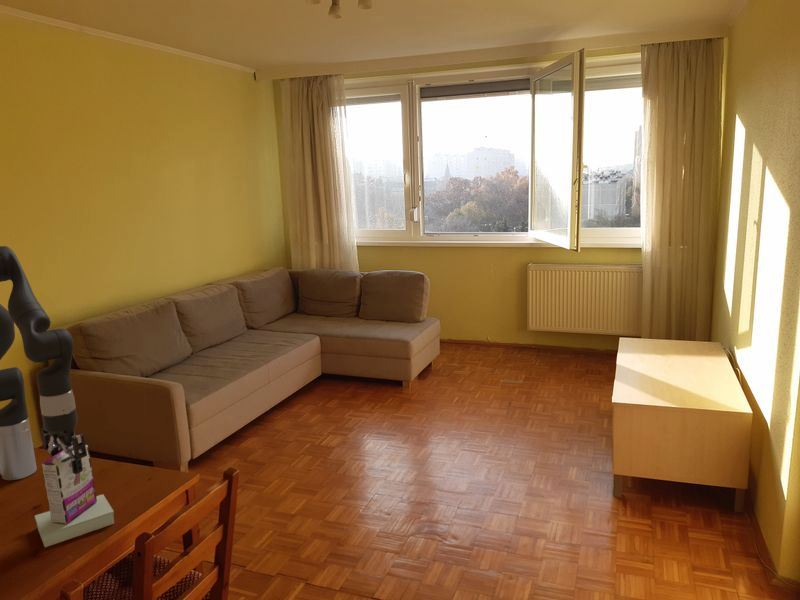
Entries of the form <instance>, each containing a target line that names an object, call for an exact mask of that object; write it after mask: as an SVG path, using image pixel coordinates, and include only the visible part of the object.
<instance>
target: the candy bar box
mask: <svg viewBox="0 0 800 600" xmlns="http://www.w3.org/2000/svg"><path fill="white" fill-rule="evenodd" d="M85 446H86V452H87V456H85V457H83V458H81V461H82V468H83V470H82V472H80V473H78V474H74V473H73V471H72V464H71V458H70V456H69V455H68V454H66V453H65V452H64V450H63V449H62V450H60V453H58V454H56V455H55V456H53V457H51V456H50V458H48V459H46V460H45V461H43V462H41V469H42V474H43V481H44V485H45V486H44V487H45V489H46V497H47V502H48V507H49V511H50V513H51V519H52V522H53V523H63V524H68V523H70V522H71V521H72V520H73V519H75V518H76V517H77V516H79V515H80V514H81V513H83V512H84V511H85V510H87V509H88V508H89V507H90V506H92V505H93V504H94V503H96V502H97V499H96V496H97V493H96V488H95V481H94V475H93V469H92V461H91V458H90V451H89V445H87V444H85ZM72 447H73V445H72V446H71V447H69V448H72ZM80 451H81V452H82V450H81V449H80ZM72 453H73V454H74V451H72Z"/></svg>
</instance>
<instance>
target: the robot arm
mask: <svg viewBox="0 0 800 600" xmlns="http://www.w3.org/2000/svg"><path fill="white" fill-rule="evenodd" d="M7 281H11V282H12V288H11V293H10V294H9V297H8V302H7V308H6V307H4V306H3V305H2V304H1V303H0V361H1V360H2V358H4V357H5V355H6V354H7V352H8V351H9V350H10V349H11V347H12V345H13V344H14V341H15V339H16V332H15V331H16V330H15V326H16V327H17V328H18V330H19V333H20V337H21V339H22V345H23V352H24V354H25V357H26V359H28V360H29V361H31V362H33V363H42V362H47V361H51V360H53V363H52V364H51V365H49V366H48V367H46V368H44V369H42V370H41V371H39V372H38V373H37V375H36V377H37V386H38V392H39V406H40V407H39V408H40V413H41V418H42V419H41V421H42V425H43V427H41V439H42V445H43V446H42V447H43V450H47V452H48V453H49V455H50V458H51V457H53V456H55V455H56V454H58V453H60V452H61V450H60V449H62V451H63V450H64V452H65V453H66V454H68V455H69V456H70V458H71V464H72V471H73V473H74V474H78V473H80V472H82V470H83V468H82V461H81V458H83V457H85V456H87V452H86V446H85V445H86V442H85V441H86V440H85V438H84V437H85V436H84V433H80V434H76V432H75V430H74V429H75V427H76V426H77V425H78V421H79V420H78V413H77V407H76V399H75V394H74V392H73V388H72V380H71V366H72V359H73V353H74V347H75V346H74V345H75V344H74V338H73V336H72V334H71V332H69V331H68V330H67V329H65V328H56V329H51V330H49V329H50V328H51V323H52V322H51V318H50V317H49V315H48V314H47V312H46V311H45V310H44V308H43V307H42V305H41V304H40V302H39V301H38V299H37V297H36V296H35V294H34V292H33V290H32V287H31V285H30V282H29V280H28V277H27V276H26V273H25V271H24V269H23V267H22V264H21V263H20V260H19V258H18V257H17V255H16V253H15V252H14V251H13V250H12V248H10V247H9V246H6V245H4V246H3V245H2V246H0V283H3V282H7ZM25 390H26V389H25V380H24V376H23V373H22V371H21V369H20V368H19V367H16V366H15V367H8V368H3V369H0V402H3V401H4V402H5V401H9V400H10V402H9V403H7V404H6V405H5V406H4V407H2V408H0V475H1V479H2V480H4V481H15V480H21V479H25V478H27V477H29V476H31V475H34V473H36V471H37V463H36V455H35V450H34V444H33V437H32V432H31V424H30V418H29V413H28V407H27V400H26V391H25ZM48 441H49V442H48ZM72 445H73V447H72V448H69V447H71V446H72ZM80 449H81V450H82V452H81V451H80ZM72 451H74V454H73V453H72Z"/></svg>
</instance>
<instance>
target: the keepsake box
mask: <svg viewBox="0 0 800 600" xmlns="http://www.w3.org/2000/svg"><path fill="white" fill-rule="evenodd" d="M96 499H97V502H96V503H94V504H93V505H92V506H90V507H89V508H88V509H87V510H85V511H84V512H83V513H81V514H80V515H79V516H77V517H76V518H75V519H73V520H72V521H71V522H70V523H68V524H63V523H53V522H52V519H51V513H50V510H48V511H44V512H42V513H39V514H36V515H34V518H35V523H36V527H37V530H38V533H39V535H40V539H41V541H42V544H43V546H44V548H47V547H50V546H53V545H56V544H59V543H62V542H64V541H68V540H70V539H74V538H76V537H80V536H83V535H86V534H87V533H91V532H93V531H97V530H100V529H103V528H106V527H108V526H112V525H114V524H115V518H114V517H115V516H114V514H115V512H114V509H113V507H112V506H111V505H110V503H109V501H108V499H107V498H106V496H105V495H104V493H103V494H99V495H96Z"/></svg>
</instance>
